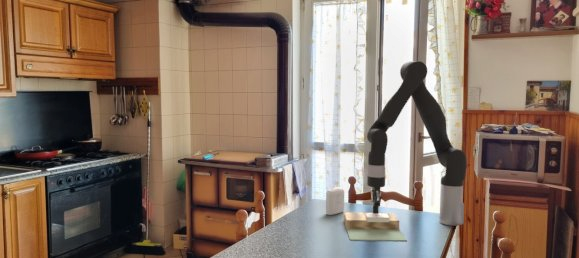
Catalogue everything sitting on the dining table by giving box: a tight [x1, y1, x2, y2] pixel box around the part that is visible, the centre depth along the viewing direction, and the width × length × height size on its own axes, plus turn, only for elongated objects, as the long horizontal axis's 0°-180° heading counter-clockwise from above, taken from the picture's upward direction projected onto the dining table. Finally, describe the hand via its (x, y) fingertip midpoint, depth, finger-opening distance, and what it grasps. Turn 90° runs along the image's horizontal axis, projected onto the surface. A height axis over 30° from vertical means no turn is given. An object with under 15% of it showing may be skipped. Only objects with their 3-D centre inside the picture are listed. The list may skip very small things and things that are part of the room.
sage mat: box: [346, 229, 408, 242], centre depth 176 cm, size 22×13×1 cm, turn 88°
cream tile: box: [365, 212, 389, 222], centre depth 183 cm, size 9×6×2 cm, turn 88°
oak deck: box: [343, 211, 400, 230], centre depth 189 cm, size 22×12×4 cm, turn 88°
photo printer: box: [325, 186, 345, 216], centre depth 208 cm, size 10×4×12 cm, turn 134°
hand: (375, 214), depth 188 cm, fingers closed
